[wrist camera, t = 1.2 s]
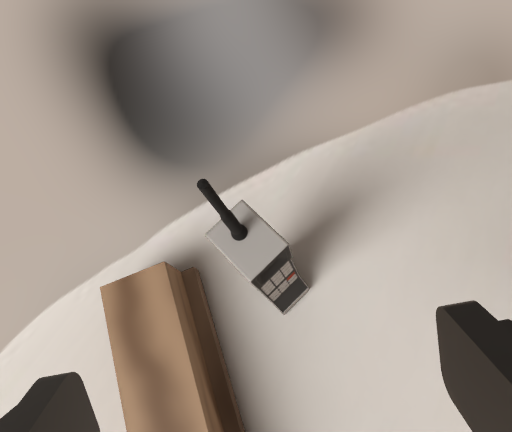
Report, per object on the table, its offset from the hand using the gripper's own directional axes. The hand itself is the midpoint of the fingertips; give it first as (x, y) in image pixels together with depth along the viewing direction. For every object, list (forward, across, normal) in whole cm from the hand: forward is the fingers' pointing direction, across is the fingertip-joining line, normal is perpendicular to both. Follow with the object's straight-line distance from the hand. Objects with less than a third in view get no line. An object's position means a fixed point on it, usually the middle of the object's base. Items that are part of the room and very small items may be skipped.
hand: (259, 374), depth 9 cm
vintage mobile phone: (+33, 0, +13) cm, 36 cm away
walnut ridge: (+29, +12, +20) cm, 37 cm away
